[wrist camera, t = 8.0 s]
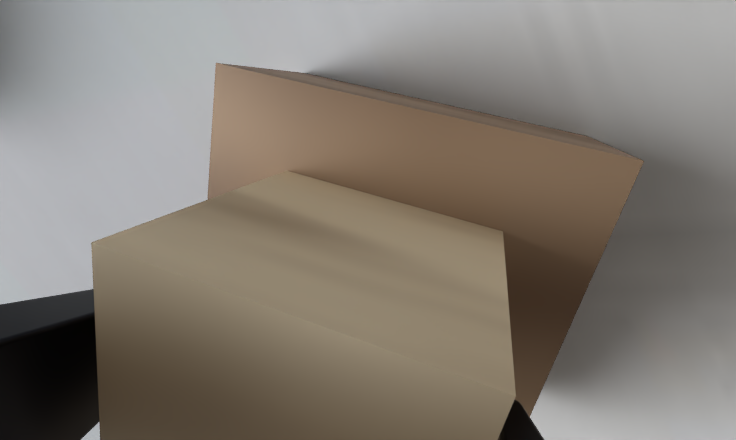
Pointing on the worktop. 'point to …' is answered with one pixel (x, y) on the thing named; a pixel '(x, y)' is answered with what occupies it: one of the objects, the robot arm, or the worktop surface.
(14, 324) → the robot arm
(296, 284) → the maple cube
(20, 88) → the worktop surface
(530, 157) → the walnut block
